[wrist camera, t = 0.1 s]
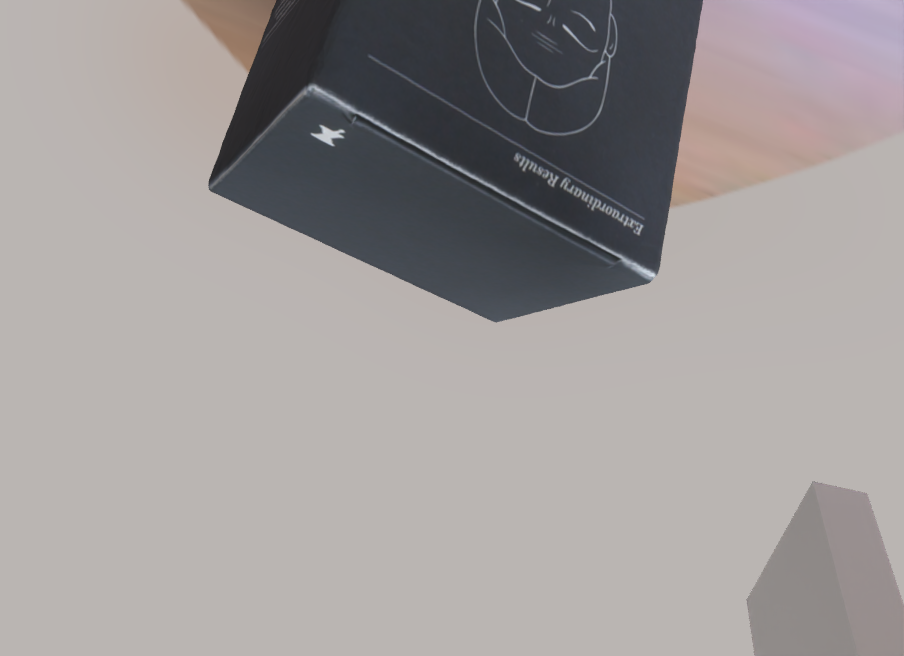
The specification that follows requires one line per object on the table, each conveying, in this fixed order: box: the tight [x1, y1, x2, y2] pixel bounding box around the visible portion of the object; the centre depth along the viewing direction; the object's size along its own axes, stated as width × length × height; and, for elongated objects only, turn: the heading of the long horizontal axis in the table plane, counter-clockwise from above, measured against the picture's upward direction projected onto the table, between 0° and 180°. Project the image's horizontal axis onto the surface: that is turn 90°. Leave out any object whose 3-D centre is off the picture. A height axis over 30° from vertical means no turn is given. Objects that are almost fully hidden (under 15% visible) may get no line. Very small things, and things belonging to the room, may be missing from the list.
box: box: [209, 0, 703, 322], centre depth 18 cm, size 8×6×11 cm
